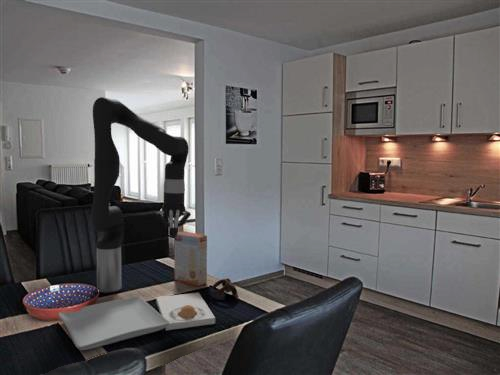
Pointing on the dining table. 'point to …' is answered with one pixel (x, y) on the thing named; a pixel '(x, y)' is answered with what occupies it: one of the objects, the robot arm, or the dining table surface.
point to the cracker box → (190, 258)
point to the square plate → (112, 322)
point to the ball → (187, 311)
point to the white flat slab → (174, 304)
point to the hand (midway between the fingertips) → (172, 237)
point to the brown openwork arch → (224, 288)
